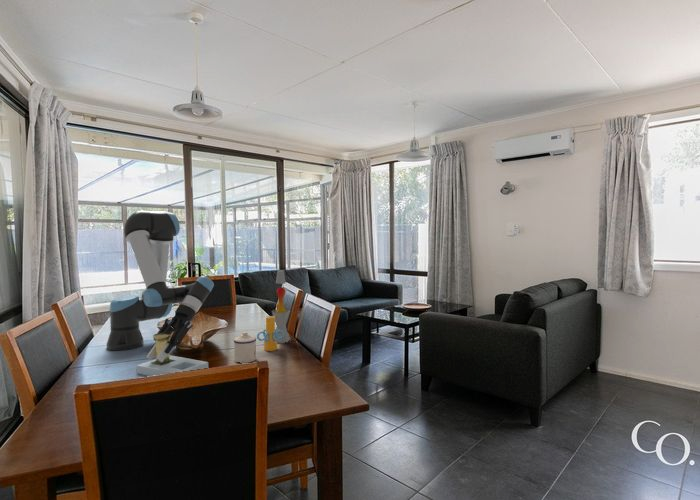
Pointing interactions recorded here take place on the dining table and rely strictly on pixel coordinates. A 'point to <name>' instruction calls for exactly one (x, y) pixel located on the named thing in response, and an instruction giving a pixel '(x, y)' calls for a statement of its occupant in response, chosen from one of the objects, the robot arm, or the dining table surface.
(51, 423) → the dining table surface
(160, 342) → the brass sleeve
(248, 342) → the teacup with lid
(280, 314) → the lava lamp
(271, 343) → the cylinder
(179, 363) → the jig plate
